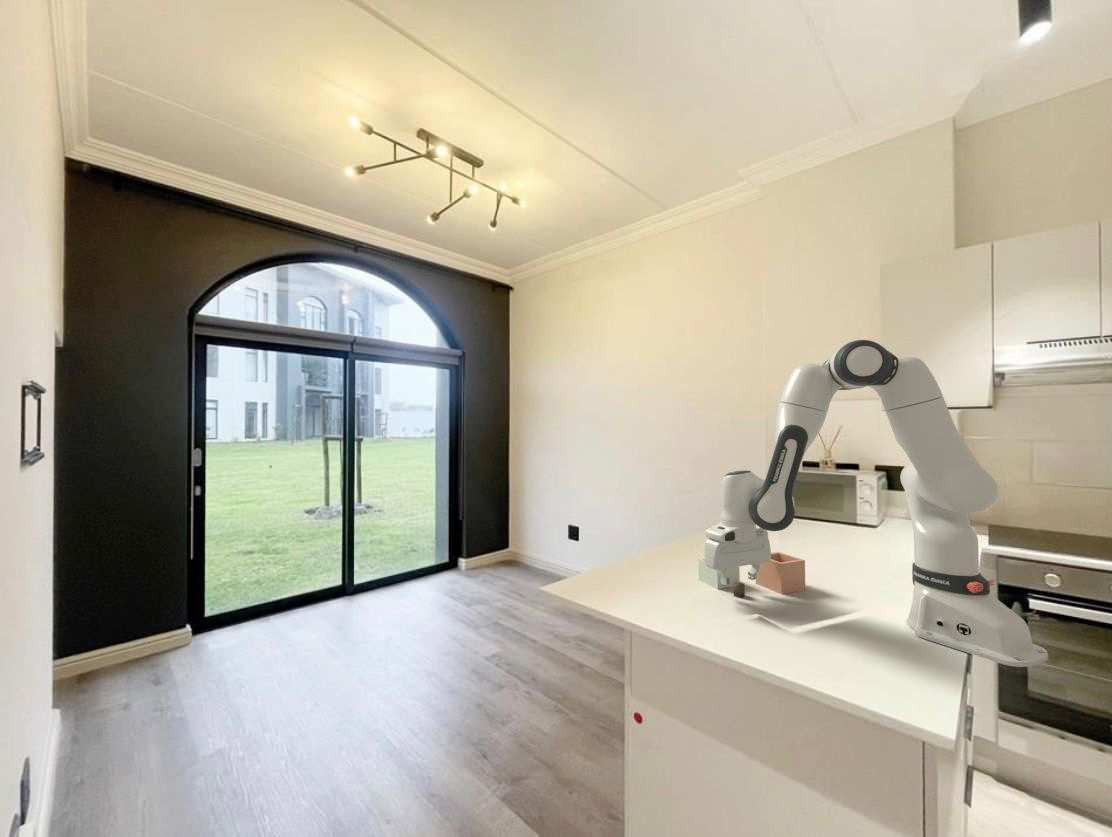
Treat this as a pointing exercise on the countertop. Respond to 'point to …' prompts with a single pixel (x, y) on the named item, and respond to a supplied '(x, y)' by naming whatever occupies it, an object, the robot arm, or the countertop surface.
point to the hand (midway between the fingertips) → (739, 581)
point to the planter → (782, 573)
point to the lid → (739, 589)
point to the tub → (717, 575)
